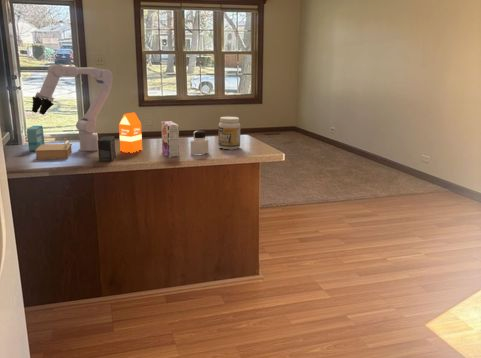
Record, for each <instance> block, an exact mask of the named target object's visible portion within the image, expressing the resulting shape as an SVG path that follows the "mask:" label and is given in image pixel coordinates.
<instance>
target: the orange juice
mask: <svg viewBox="0 0 481 358" xmlns="http://www.w3.org/2000/svg"><path fill="white" fill-rule="evenodd" d="M118 130H119V131H118V132H119V147H120V152H121V151H122V152H123V153H128V152H130V154H133V152H134V153H136V151H137V152H140V151H139V150H141V151H143V139H142V138H143V137H142V136H143V135H142V134H143V133H142V123H141V120H139V118H138V116H137V114H136V112H128V113H124V114H123V116H122V118H121V120H120V122H119V124H118Z"/></svg>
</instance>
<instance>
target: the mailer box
mask: <svg viewBox="0 0 481 358" xmlns="http://www.w3.org/2000/svg"><path fill="white" fill-rule="evenodd" d="M72 150H73V149H72V146H71V147H70V148H69V149H68V151H43V152H35V155H36V160H37V161H39V160H40V161H41V160H43V161H45V160H68V159H69V158H70V156H71V155H72V152H73V151H72Z"/></svg>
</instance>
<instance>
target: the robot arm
mask: <svg viewBox="0 0 481 358" xmlns="http://www.w3.org/2000/svg"><path fill="white" fill-rule="evenodd" d="M46 70H47V74H46V77H45V79H44V80H43V83H42V87H41V89H40V90H39V92H36V93H35V95H34V96H32V108H31V112H32V113H35V114H37V113H38V111H39V114H41V115H42V116H43V115H45V114H46V113H47V112H48V111H49V110H50V108H51V107H53V106H54V104H55V103H53V102H54V100H55V97H53V95H54V92H55V90H56V88H57V85H58V83H59V80H60V78H62V77H67V78H68V77H71V78H73V77H76V76H77V75H90V76H91V77H93V78H94V80H95V81H96V83H97V85H98V87H99V90H97V91H98V92H97V93H96V95H95V97H94V99H93V100H92V102H91V104H90V106H89V108H88V110H87V111H86V113H85V114H83V115H82V116H81V118H80V119H79V120H77V121H76V124H75V127H76V129H77V130H78V138H79V149H78V151H79V152H85V151H87V152H90V151H91V152H92V151H95V152H96V151H98V140H99V135H98V133H97V132H95V130H96V125H97V123H98V122H97V117H98V115H99V113H100V112H101V110H102V108H103V106H104V104H105V103H106V100H107V99H108V97H109V95H110V93H111V92H112V87H113V86H112V85H113V80H114V76H113V73H112V71H111V70H109V69H103V68H99V67H77V66H76V65H75V64H73V63H68V64H62V63H59V64H54V63H53V64H50V65H49V66H48V67H47V68H46Z"/></svg>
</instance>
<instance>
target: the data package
mask: <svg viewBox="0 0 481 358" xmlns="http://www.w3.org/2000/svg"><path fill="white" fill-rule="evenodd" d="M44 135H45V134H44V127H43V125H32V126H30V127H28V128H27V129H26V137H27V143H28V145H27V146H28V150H29V152H35V150H36V149H37V148H38V147H39V146H40V145H41V144H45V137H44Z"/></svg>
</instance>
